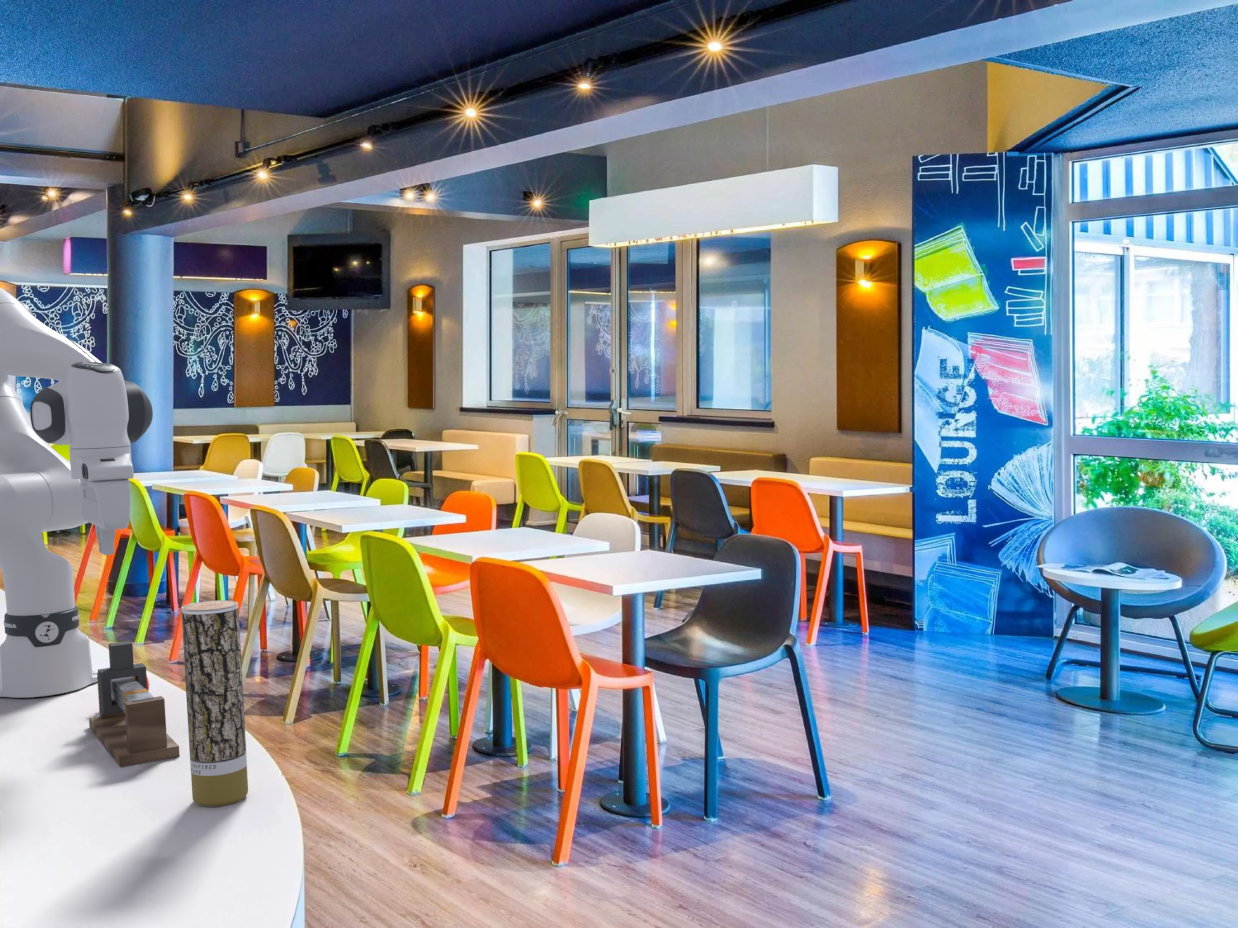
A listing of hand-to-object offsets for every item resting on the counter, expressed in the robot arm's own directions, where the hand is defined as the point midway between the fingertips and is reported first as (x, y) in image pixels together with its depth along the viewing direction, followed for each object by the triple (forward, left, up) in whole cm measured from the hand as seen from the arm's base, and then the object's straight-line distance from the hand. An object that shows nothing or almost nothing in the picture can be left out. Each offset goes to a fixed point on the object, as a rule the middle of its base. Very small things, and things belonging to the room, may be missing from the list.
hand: (106, 553), depth 189 cm
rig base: (+12, 0, -27) cm, 30 cm away
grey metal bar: (+12, 0, -22) cm, 25 cm away
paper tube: (+47, +4, -27) cm, 55 cm away
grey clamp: (+7, 0, -23) cm, 24 cm away
